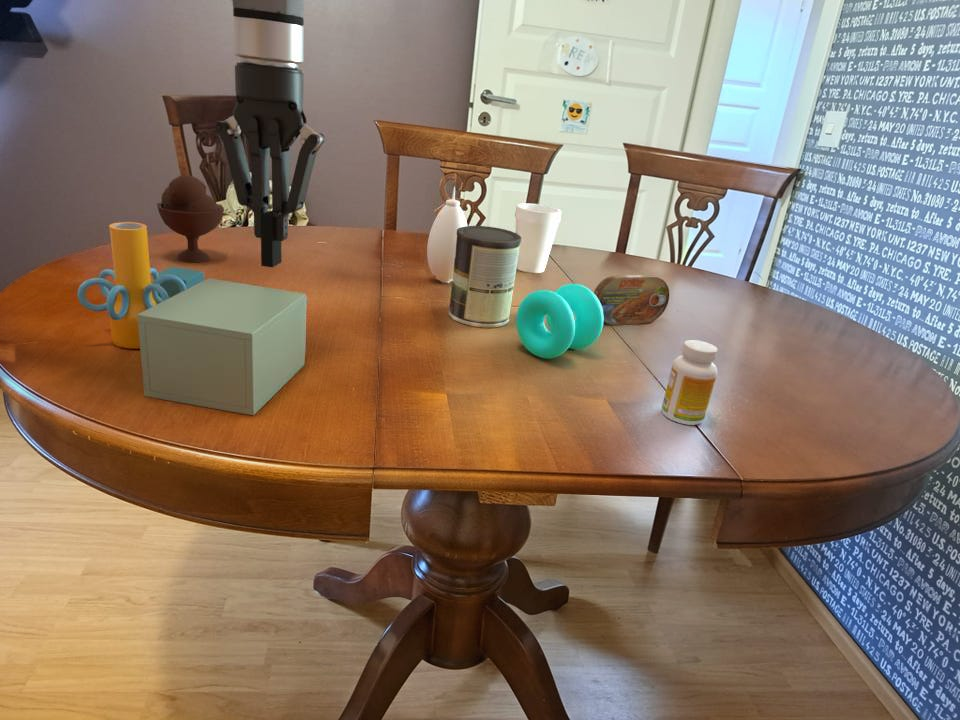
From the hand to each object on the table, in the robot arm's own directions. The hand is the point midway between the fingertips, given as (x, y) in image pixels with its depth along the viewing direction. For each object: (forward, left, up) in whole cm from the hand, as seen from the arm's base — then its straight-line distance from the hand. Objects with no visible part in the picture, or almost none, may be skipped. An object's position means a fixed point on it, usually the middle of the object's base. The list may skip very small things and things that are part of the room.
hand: (271, 263), depth 85 cm
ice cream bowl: (-29, +32, -12) cm, 45 cm away
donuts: (+38, +15, -12) cm, 42 cm away
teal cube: (-18, +9, -11) cm, 23 cm away
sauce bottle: (+16, +42, -12) cm, 46 cm away
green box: (0, -11, -11) cm, 16 cm away
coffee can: (+25, +25, -12) cm, 37 cm away
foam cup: (+31, +61, -12) cm, 69 cm away
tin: (+50, +35, -12) cm, 62 cm away
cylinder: (-16, -5, -12) cm, 20 cm away
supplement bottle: (+55, 0, -12) cm, 56 cm away
